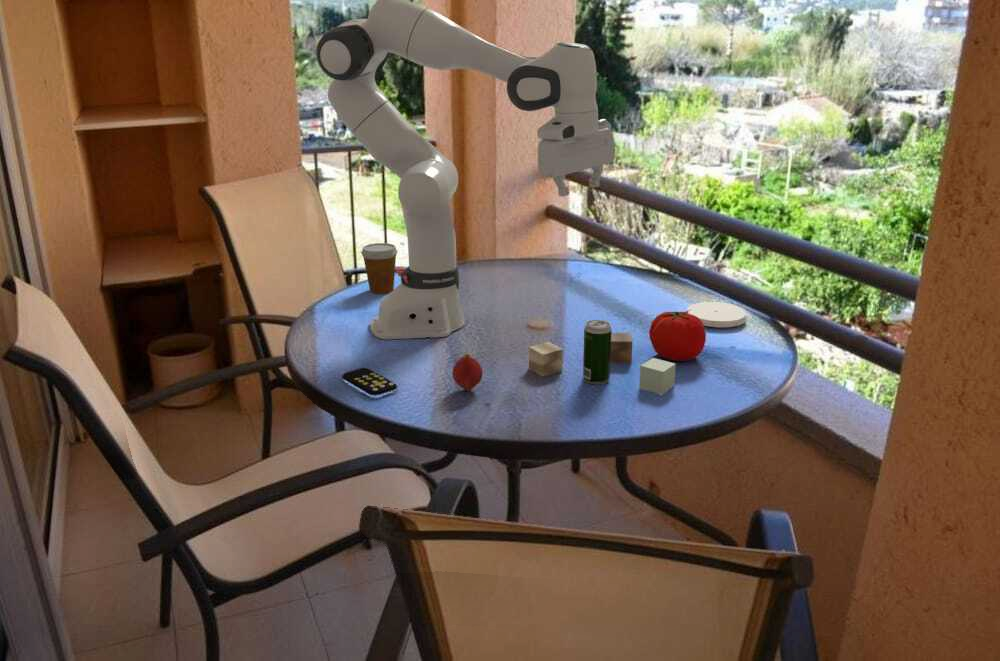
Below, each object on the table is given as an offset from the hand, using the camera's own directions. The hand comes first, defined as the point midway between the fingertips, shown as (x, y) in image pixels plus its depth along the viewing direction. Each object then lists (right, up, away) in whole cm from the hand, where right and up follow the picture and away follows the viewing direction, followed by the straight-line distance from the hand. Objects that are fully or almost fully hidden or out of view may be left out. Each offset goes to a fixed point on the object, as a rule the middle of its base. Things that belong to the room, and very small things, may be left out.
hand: (579, 191), depth 178 cm
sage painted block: (+14, -41, -12) cm, 45 cm away
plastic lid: (+35, -27, +24) cm, 51 cm away
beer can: (+3, -40, -8) cm, 41 cm away
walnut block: (+9, -36, +2) cm, 37 cm away
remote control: (-43, -41, -10) cm, 60 cm away
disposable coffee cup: (-49, -19, +48) cm, 71 cm away
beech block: (-7, -38, -3) cm, 39 cm away
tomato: (+21, -35, +3) cm, 41 cm away
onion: (-23, -42, -13) cm, 49 cm away
